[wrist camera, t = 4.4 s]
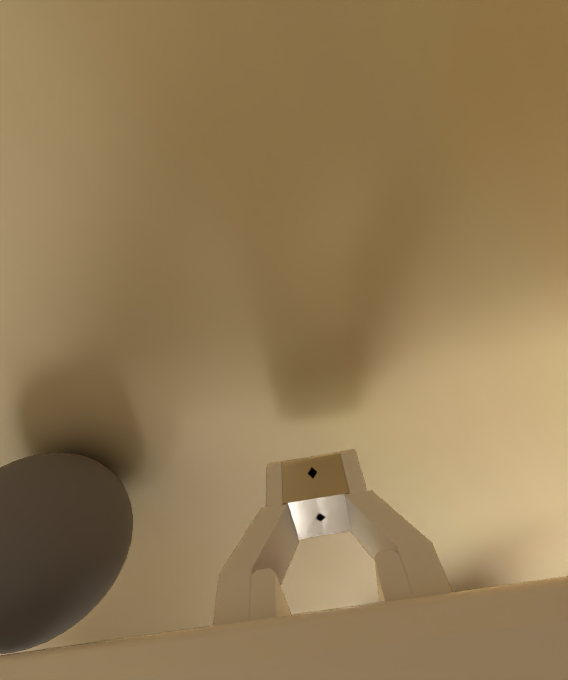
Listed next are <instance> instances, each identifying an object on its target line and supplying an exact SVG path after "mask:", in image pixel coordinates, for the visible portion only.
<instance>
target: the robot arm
mask: <svg viewBox="0 0 568 680" xmlns="http://www.w3.org/2000/svg"><path fill="white" fill-rule="evenodd" d="M343 532H351V533H352V535H353V536H354V537H355V538H356V539H357V540H358V542H359V543H360V544H361V545H362V546H363V548H364V549H365V550H366V551H367V552H368V554H369V555H370V556H371V557H372V558H373V560H374V561H375V567H376V575H377V583H378V591H379V600H380V602H379V603H372V604H365V605H358V606H351V607H344V608H336V609H329V610H322V611H315V612H308V613H301V614H293V615H292V614H291V612H290V609H289V607H288V604H287V602H286V599H285V596H284V594H283V591H282V589H281V586H280V585H281V583H282V580H283V578H284V576H285V573H286V571H287V569H288V566H289V564H290V562H291V559H292V557H293V554H294V552H295V550H296V547H297V545H298V543H299V539H305V538H310V537H315V536H321V535H327V534H335V533H343ZM0 680H568V576H566V577H559V578H551V579H544V580H537V581H530V582H523V583H516V584H508V585H501V586H494V587H487V588H480V589H473V590H465V591H458V592H452V590H451V587H450V585H449V583H448V580H447V578H446V575H445V573H444V570H443V568H442V566H441V563H440V561H439V558H438V556H437V554H436V551H435V549H434V546H433V544H432V542H430V541H429V540H428V539H427V538H426V537H425V536H424V535H422V534H421V533H420V532H419V531H418V530H417V529H416V528H414V527H413V526H412V525H411V524H410V523H409V522H408V521H406V520H405V519H404V518H403V517H402V516H401V515H399V514H398V513H397V512H396V511H395V510H394V509H393V508H391V507H390V506H389V505H388V504H387V503H386V502H385V501H383V500H382V499H381V498H380V497H379V496H378V495H377V494H375V493H374V492H373V491H372V490H371V491H367V488H366V485H365V481H364V478H363V475H362V471H361V468H360V464H359V461H358V457H357V454H356V451H355V450H354V449H352V450H346V451H340V453H339V452H333V453H328V454H323V455H317V456H312V457H308V458H301V459H294V460H287V461H281V462H274V463H268V464H267V467H266V507H265V508H261V510H260V511H259V513H258V514H257V516H256V517H255V519H254V520H253V522H252V524H251V525H250V527H249V528H248V530H247V531H246V533H245V535H244V536H243V538H242V539H241V541H240V542H239V544H238V546H237V547H236V549H235V550H234V552H233V553H232V555H231V556H230V558H229V560H228V561H227V563H226V564H225V566H224V567H223V569H222V571H221V572H220V574H219V580H218V588H217V596H216V604H215V612H214V620H213V626H208V627H201V628H194V629H187V630H180V631H172V632H165V633H158V634H151V635H144V636H137V637H129V638H122V639H115V640H108V641H101V642H93V643H86V644H79V645H72V646H65V647H58V648H50V649H43V650H36V651H29V652H22V653H15V654H7V655H0Z"/></svg>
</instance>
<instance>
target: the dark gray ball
mask: <svg viewBox="0 0 568 680" xmlns="http://www.w3.org/2000/svg"><path fill="white" fill-rule="evenodd" d="M132 530H133V515H132V508H131V503H130V500H129V497H128V494H127V492H126V490H125V488H124V486H123V484H122V483H121V481H120V480H119V479H118V477H117V476H116V475H115V474H114V473H113V472H112V471H111V470H110V469H108V468H107V467H106V466H104V465H103V464H101V463H100V462H98V461H96V460H94V459H91V458H89V457H86V456H82V455H78V454H72V453H45V454H38V455H33V456H29V457H26V458H23V459H19V460H17V461H14V462H11V463H9V464H7V465H5V466H3V467H1V468H0V654H6V653H13V652H17V651H21V650H26V649H29V648H32V647H35V646H37V645H40V644H42V643H45V642H47V641H49V640H51V639H53V638H55V637H56V636H58V635H60V634H62V633H64V632H65V631H66V630H68V629H69V628H71V627H72V626H73V625H75V624H76V623H78V622H79V621H80V620H81V619H83V618H84V617H85V616H86V615H87V614H88V613H89V612H90V611H91V610H92V609H93V608H94V607H95V606H96V605H97V604H98V603H99V602H100V601H101V599H102V598H103V597H104V596H105V595H106V593H107V592H108V590H109V589H110V588H111V586H112V585H113V583H114V581H115V580H116V578H117V576H118V575H119V573H120V571H121V569H122V567H123V564H124V562H125V560H126V557H127V554H128V551H129V547H130V544H131V538H132Z"/></svg>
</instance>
